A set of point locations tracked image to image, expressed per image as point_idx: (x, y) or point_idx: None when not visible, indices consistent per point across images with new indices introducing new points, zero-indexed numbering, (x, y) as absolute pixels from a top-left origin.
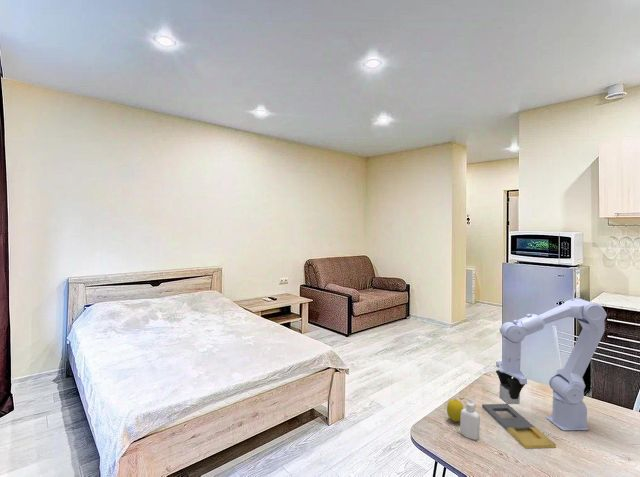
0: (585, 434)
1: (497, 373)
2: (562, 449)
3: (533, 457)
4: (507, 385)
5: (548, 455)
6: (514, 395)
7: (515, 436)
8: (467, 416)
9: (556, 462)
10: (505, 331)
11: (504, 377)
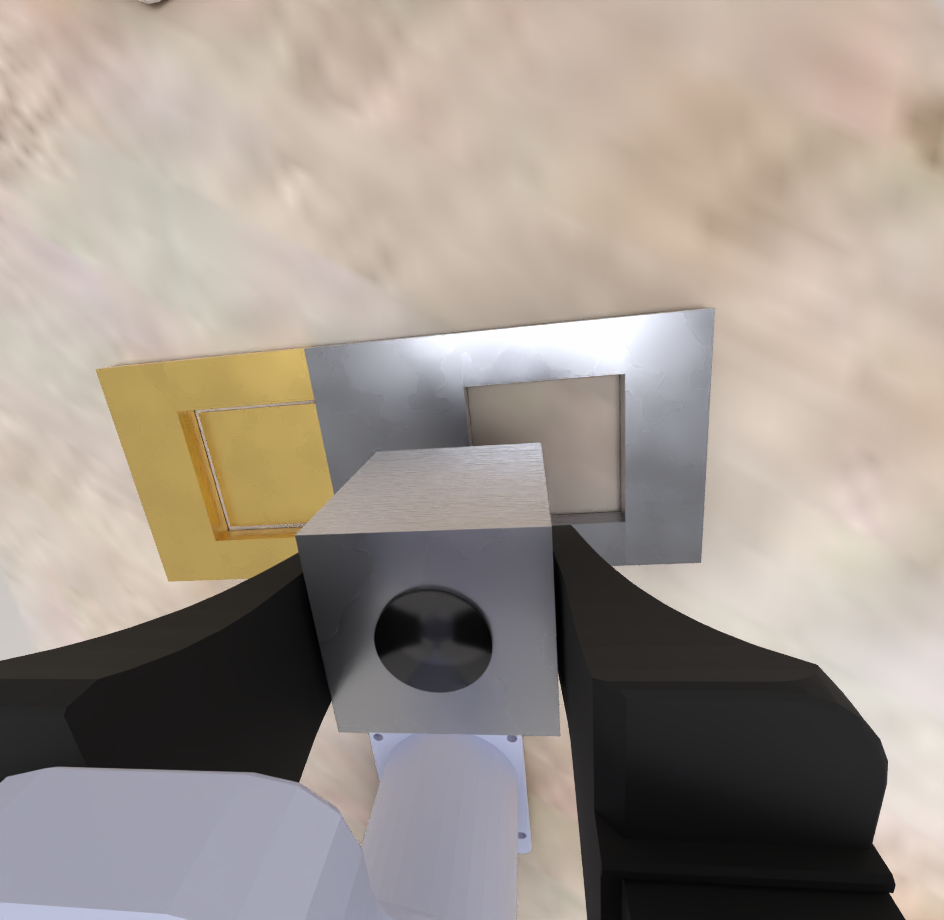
0: (355, 797)
1: (722, 662)
2: (175, 595)
3: (33, 369)
4: (475, 631)
5: (88, 478)
6: None
7: (200, 359)
8: None
9: (32, 483)
10: None
11: (577, 727)
